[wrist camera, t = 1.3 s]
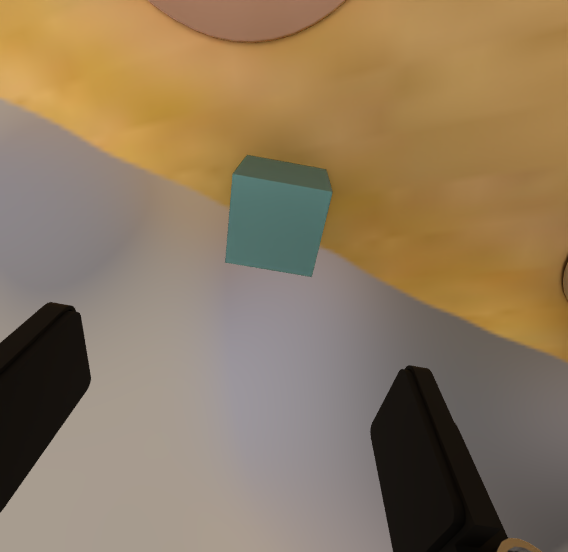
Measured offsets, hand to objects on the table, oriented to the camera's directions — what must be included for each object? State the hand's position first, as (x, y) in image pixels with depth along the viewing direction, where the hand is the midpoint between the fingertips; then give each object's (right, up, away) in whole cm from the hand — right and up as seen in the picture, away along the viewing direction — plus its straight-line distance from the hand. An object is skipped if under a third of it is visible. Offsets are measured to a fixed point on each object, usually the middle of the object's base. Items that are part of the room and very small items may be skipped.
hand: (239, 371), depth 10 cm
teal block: (+1, +9, +16) cm, 19 cm away
